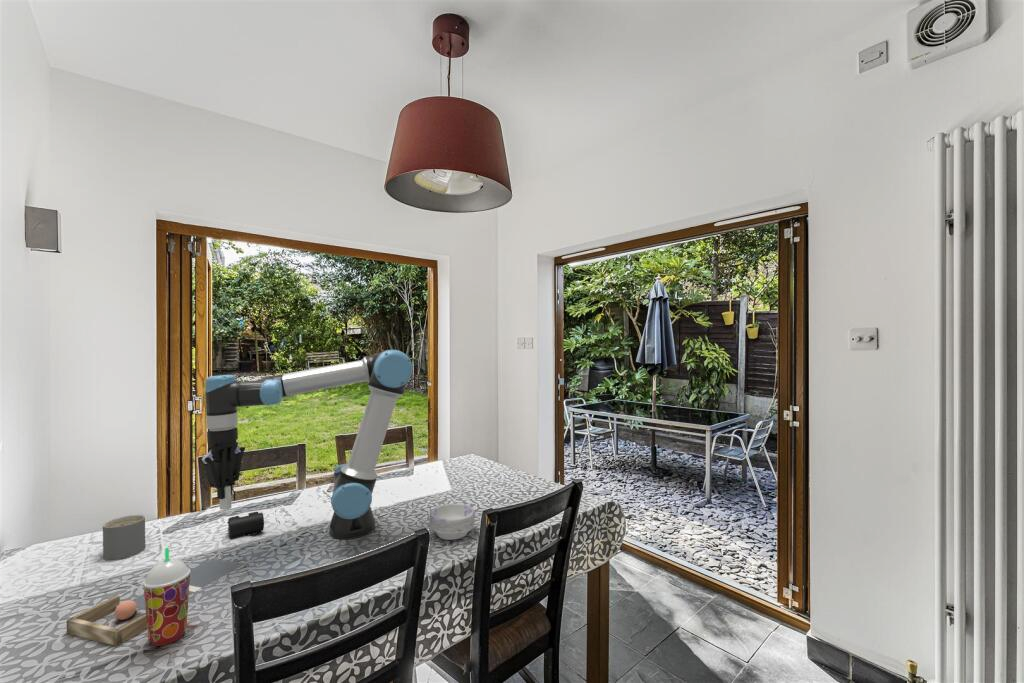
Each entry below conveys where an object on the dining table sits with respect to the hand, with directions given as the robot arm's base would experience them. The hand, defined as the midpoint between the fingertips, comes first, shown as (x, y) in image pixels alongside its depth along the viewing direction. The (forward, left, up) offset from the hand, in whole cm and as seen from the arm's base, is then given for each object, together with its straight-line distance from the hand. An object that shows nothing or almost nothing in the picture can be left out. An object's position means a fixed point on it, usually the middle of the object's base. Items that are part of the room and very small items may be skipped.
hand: (225, 508), depth 129 cm
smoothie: (-15, +28, -17) cm, 36 cm away
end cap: (+13, -18, -17) cm, 28 cm away
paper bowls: (-55, -37, -17) cm, 69 cm away
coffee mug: (+41, +1, -17) cm, 44 cm away
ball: (+1, +27, -15) cm, 31 cm away
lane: (+1, +11, -17) cm, 20 cm away
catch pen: (+1, +28, -17) cm, 33 cm away
